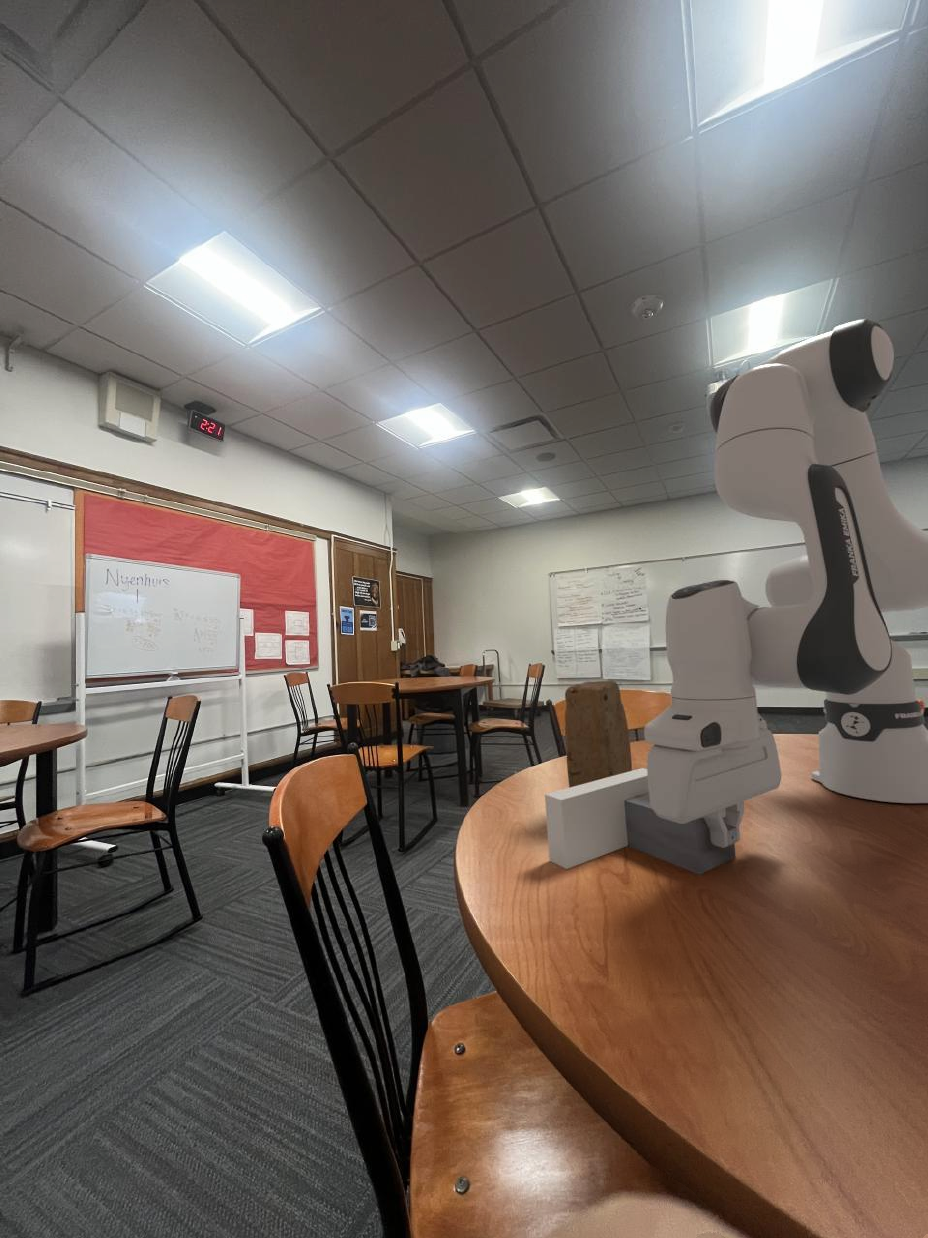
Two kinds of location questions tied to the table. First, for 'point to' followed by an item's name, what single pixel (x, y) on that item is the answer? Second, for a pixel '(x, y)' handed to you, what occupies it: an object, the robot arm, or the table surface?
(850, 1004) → the table surface
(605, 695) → the block
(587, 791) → the cream board
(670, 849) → the charcoal block
